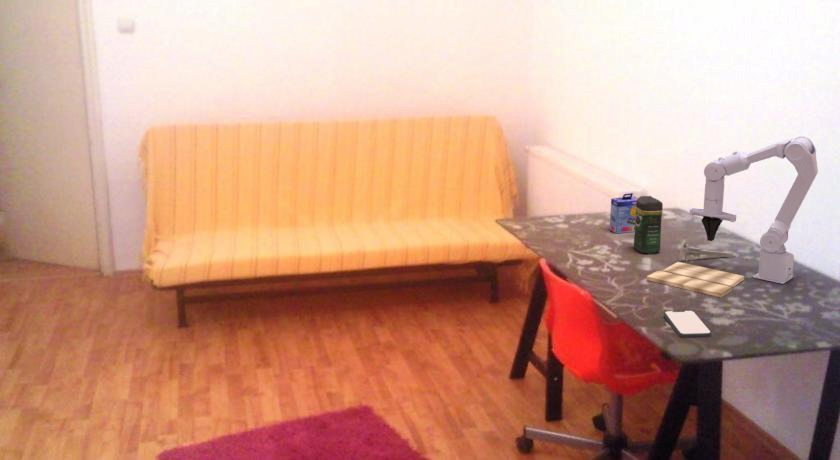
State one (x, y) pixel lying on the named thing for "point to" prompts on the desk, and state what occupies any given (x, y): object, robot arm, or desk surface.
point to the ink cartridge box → (623, 214)
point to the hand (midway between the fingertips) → (710, 240)
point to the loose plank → (705, 273)
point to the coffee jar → (648, 224)
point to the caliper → (700, 253)
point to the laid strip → (690, 283)
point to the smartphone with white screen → (687, 324)
